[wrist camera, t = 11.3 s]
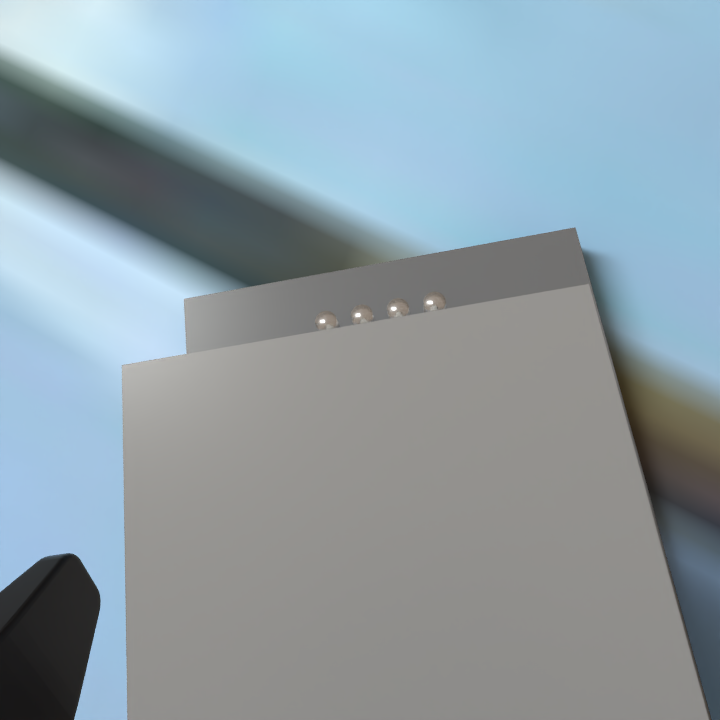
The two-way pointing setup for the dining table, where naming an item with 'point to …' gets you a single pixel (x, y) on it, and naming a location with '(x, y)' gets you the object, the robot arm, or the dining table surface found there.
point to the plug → (397, 527)
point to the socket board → (397, 299)
